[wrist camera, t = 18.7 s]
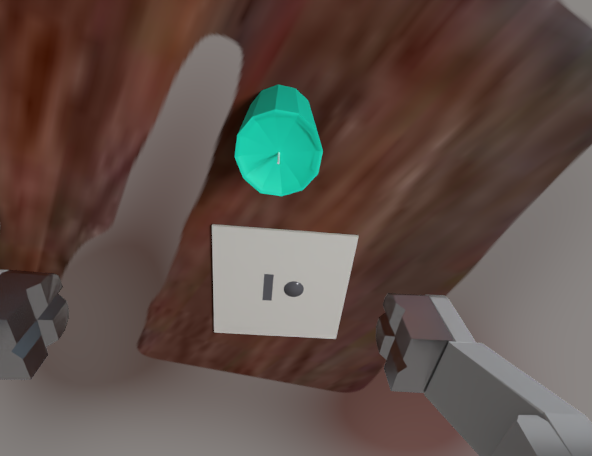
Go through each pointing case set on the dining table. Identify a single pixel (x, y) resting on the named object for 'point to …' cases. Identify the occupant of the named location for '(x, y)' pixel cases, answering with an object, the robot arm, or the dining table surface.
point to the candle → (278, 142)
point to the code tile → (280, 281)
